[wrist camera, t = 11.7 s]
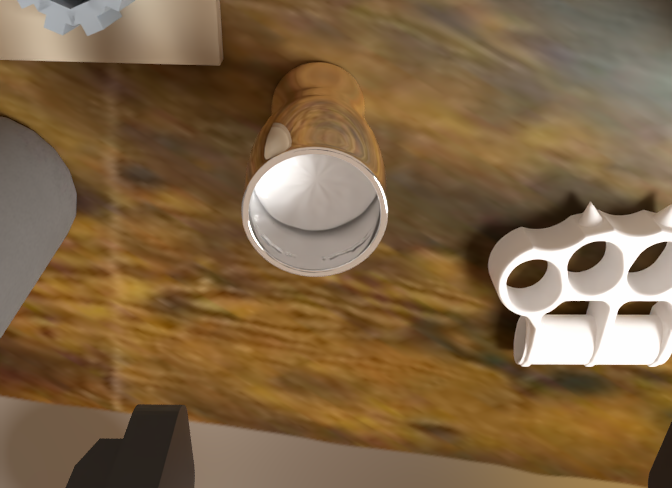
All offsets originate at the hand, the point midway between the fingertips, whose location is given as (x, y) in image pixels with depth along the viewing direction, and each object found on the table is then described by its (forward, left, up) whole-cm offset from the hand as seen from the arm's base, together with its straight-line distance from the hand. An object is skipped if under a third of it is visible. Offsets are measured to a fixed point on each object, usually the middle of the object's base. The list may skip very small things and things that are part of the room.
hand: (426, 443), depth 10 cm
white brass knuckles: (-20, +18, -33) cm, 42 cm away
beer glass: (+2, +5, -32) cm, 33 cm away
